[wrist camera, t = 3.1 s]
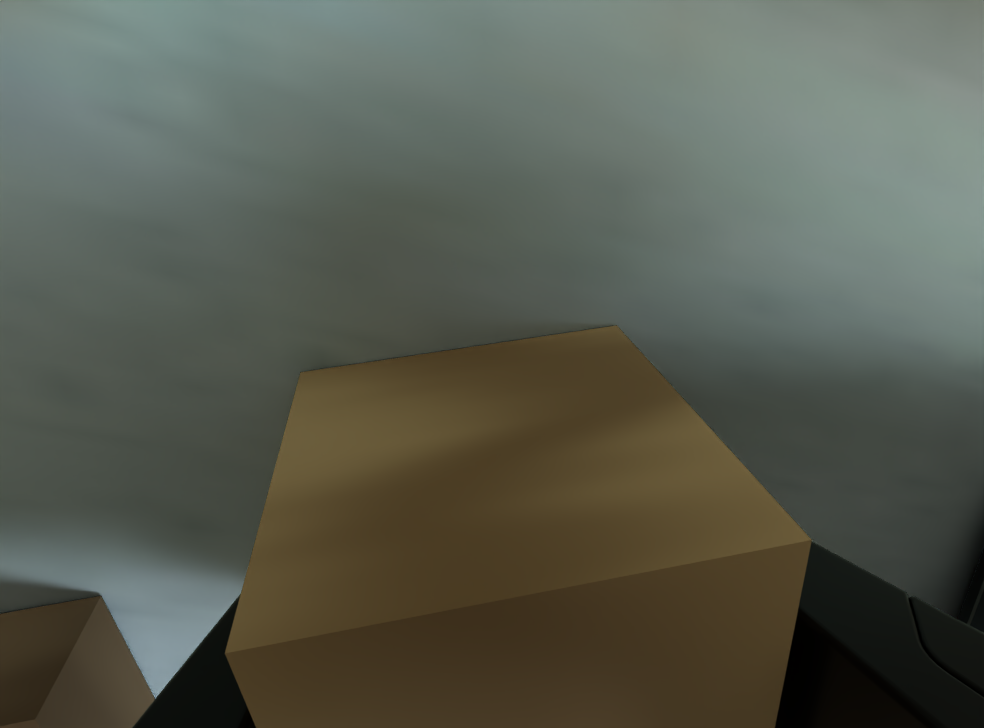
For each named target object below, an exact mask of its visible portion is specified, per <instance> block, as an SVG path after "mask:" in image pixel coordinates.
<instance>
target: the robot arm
mask: <svg viewBox="0 0 984 728" xmlns="http://www.w3.org/2000/svg"><path fill="white" fill-rule="evenodd" d="M240 595H241V594H240ZM240 595H239V597H238V598H237V599H236V600H235V601H234V603H233V604H232V605H231V606H230V608H229V609H228V610H227V611H226V613H225V614H224V615H223V616H222V617H221V619H220V620H219V621H218V622H217V624H216V625H215V626H214V627H213V629H212V630H211V631H210V632H209V633H208V635H207V636H206V637H205V638H204V640H203V641H202V642H201V643H200V645H199V646H198V647H197V648H196V649H195V651H194V652H193V653H192V654H191V656H190V657H189V658H188V659H187V661H186V662H185V663H184V664H183V665H182V667H181V668H180V669H179V670H178V672H177V673H176V674H175V675H174V677H173V678H172V679H171V680H170V681H169V683H168V684H167V685H166V686H165V688H164V689H163V690H162V691H161V692H160V694H159V695H158V696H157V697H156V699H155V700H154V701H153V702H152V704H151V705H150V706H149V707H148V708H147V710H146V711H145V712H144V713H143V715H142V716H141V717H140V718H139V720H138V721H137V722H136V723H135V724H134V726H133V727H132V728H256V726H255V724H254V721H253V719H252V717H251V714H250V712H249V710H248V707H247V705H246V702H245V700H244V698H243V695H242V693H241V691H240V688H239V686H238V683H237V681H236V679H235V676H234V674H233V672H232V669H231V667H230V664H229V662H228V660H227V657H226V655H225V651H226V647H227V643H228V640H229V636H230V632H231V629H232V625H233V621H234V617H235V614H236V610H237V606H238V602H239V599H240ZM775 728H984V549H983V552H982V554H981V557H980V560H979V563H978V565H977V568H976V571H975V573H974V576H973V579H972V582H971V584H970V587H969V590H968V592H967V595H966V598H965V601H964V603H963V606H962V609H961V611H960V614H959V617H958V619H956V618H954V617H952V616H950V615H948V614H946V613H944V612H943V611H941V610H939V609H937V608H935V607H933V606H931V605H930V604H928V603H926V602H924V601H922V600H920V599H918V598H916V597H914V596H911V597H908V594H907V593H906V592H905V591H903V590H901V589H899V588H897V587H896V586H894V585H892V584H890V583H888V582H886V581H884V580H882V579H881V578H879V577H877V576H875V575H873V574H871V573H869V572H868V571H866V570H864V569H862V568H860V567H858V566H856V565H854V564H853V563H851V562H849V561H847V560H845V559H843V558H841V557H840V556H838V555H836V554H834V553H832V552H830V551H828V550H826V549H825V548H823V547H821V546H819V545H817V544H815V543H813V542H812V541H811V546H810V551H809V557H808V562H807V567H806V572H805V577H804V582H803V587H802V592H801V597H800V602H799V607H798V612H797V617H796V623H795V628H794V633H793V638H792V643H791V648H790V653H789V658H788V663H787V668H786V673H785V678H784V683H783V689H782V694H781V699H780V704H779V709H778V714H777V719H776V724H775Z"/></svg>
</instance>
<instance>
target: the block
mask: <svg viewBox="0 0 984 728" xmlns="http://www.w3.org/2000/svg"><path fill="white" fill-rule="evenodd" d="M811 541H812V540H811V538H810V537H809V536H808V535H807V534H806V533H805V532H804V531H803V530H802V529H801V527H800V526H799V525H798V524H797V523H796V522H795V521H794V520H793V519H792V518H791V516H790V515H789V514H788V513H787V512H786V511H785V510H784V509H783V508H782V507H781V506H780V504H779V503H778V502H777V501H776V500H775V499H774V498H773V497H772V496H771V495H770V493H769V492H768V491H767V490H766V489H765V488H764V487H763V486H762V485H761V484H760V482H759V481H758V480H757V479H756V478H755V477H754V476H753V475H752V474H751V473H750V471H749V470H748V469H747V468H746V467H745V466H744V465H743V464H742V463H741V462H740V460H739V459H738V458H737V457H736V456H735V455H734V454H733V453H732V452H731V451H730V449H729V448H728V447H727V446H726V445H725V444H724V443H723V442H722V441H721V440H720V438H719V437H718V436H717V435H716V434H715V433H714V432H713V431H712V430H711V429H710V427H709V426H708V425H707V424H706V423H705V422H704V421H703V420H702V419H701V418H700V416H699V415H698V414H697V413H696V412H695V411H694V410H693V409H692V408H691V407H690V405H689V404H688V403H687V402H686V401H685V400H684V399H683V398H682V397H681V396H680V394H679V393H678V392H677V391H676V390H675V389H674V388H673V387H672V386H671V385H670V383H669V382H668V381H667V380H666V379H665V378H664V377H663V376H662V375H661V374H660V372H659V371H658V370H657V369H656V368H655V367H654V366H653V365H652V364H651V363H650V361H649V360H648V359H647V358H646V357H645V356H644V355H643V354H642V353H641V352H640V350H639V349H638V348H637V347H636V346H635V345H634V344H633V343H632V342H631V341H630V339H629V338H628V337H627V336H626V335H625V334H624V333H623V332H622V331H621V330H620V328H619V327H618V326H617V325H616V326H609V327H602V328H595V329H589V330H582V331H575V332H568V333H562V334H555V335H548V336H541V337H535V338H528V339H521V340H514V341H508V342H501V343H494V344H487V345H481V346H474V347H467V348H460V349H454V350H447V351H440V352H433V353H427V354H420V355H413V356H406V357H400V358H393V359H386V360H379V361H373V362H366V363H359V364H352V365H346V366H339V367H332V368H325V369H319V370H312V371H305V372H300V376H299V379H298V383H297V387H296V391H295V394H294V398H293V402H292V405H291V409H290V413H289V417H288V420H287V424H286V428H285V431H284V435H283V439H282V443H281V446H280V450H279V454H278V457H277V461H276V465H275V469H274V472H273V476H272V480H271V484H270V487H269V491H268V495H267V498H266V502H265V506H264V510H263V513H262V517H261V521H260V524H259V528H258V532H257V536H256V539H255V543H254V547H253V550H252V554H251V558H250V562H249V565H248V569H247V573H246V576H245V580H244V584H243V588H242V591H241V595H240V599H239V602H238V606H237V610H236V614H235V617H234V621H233V625H232V629H231V632H230V636H229V640H228V643H227V647H226V651H225V655H226V657H227V660H228V662H229V664H230V667H231V669H232V672H233V674H234V676H235V679H236V681H237V683H238V686H239V688H240V691H241V693H242V695H243V698H244V700H245V702H246V705H247V707H248V710H249V712H250V714H251V717H252V719H253V721H254V724H255V726H256V728H775V724H776V719H777V714H778V709H779V704H780V699H781V694H782V689H783V683H784V678H785V673H786V668H787V663H788V658H789V653H790V648H791V643H792V638H793V633H794V628H795V623H796V617H797V612H798V607H799V602H800V597H801V592H802V587H803V582H804V577H805V572H806V567H807V562H808V557H809V551H810V546H811Z"/></svg>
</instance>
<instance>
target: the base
mask: <svg viewBox="0 0 984 728" xmlns="http://www.w3.org/2000/svg"><path fill="white" fill-rule="evenodd" d="M154 700H155V698H154V696H153V694H152V692H151V690H150V688H149V686H148V685H147V683H146V681H145V679H144V677H143V675H142V673H141V671H140V669H139V667H138V665H137V664H136V662H135V660H134V658H133V656H132V654H131V652H130V650H129V648H128V646H127V644H126V642H125V641H124V639H123V637H122V635H121V633H120V631H119V629H118V627H117V625H116V623H115V621H114V619H113V618H112V616H111V614H110V612H109V610H108V608H107V606H106V604H105V602H104V600H103V598H102V597H101V596H97V597H91V598H86V599H80V600H75V601H69V602H63V603H58V604H52V605H47V606H41V607H36V608H30V609H24V610H19V611H13V612H8V613H2V614H0V728H132V727H133V726H134V724H135V723H136V722H137V721H138V720H139V718H140V717H141V716H142V715H143V713H144V712H145V711H146V710H147V708H148V707H149V706H150V705H151V704H152V702H153V701H154Z"/></svg>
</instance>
